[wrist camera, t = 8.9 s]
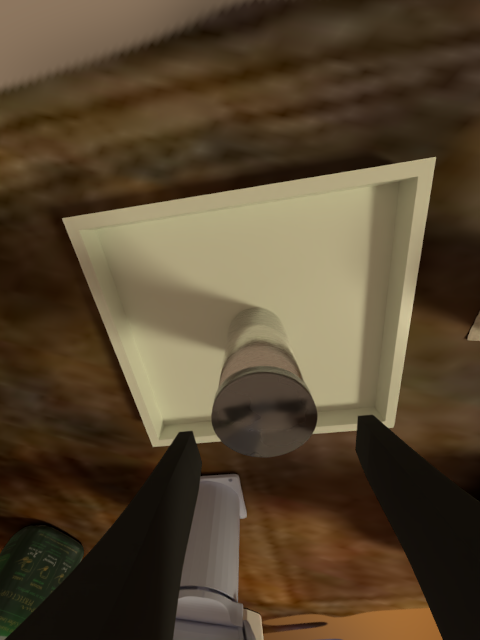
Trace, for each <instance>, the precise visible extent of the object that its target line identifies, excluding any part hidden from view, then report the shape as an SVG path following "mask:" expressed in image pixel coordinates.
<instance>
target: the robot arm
mask: <svg viewBox="0 0 480 640" xmlns="http://www.w3.org/2000/svg"><path fill="white" fill-rule="evenodd" d="M356 453H357V455H358V458H359V460H360V463H361V465H362V468H363V470H364V473H365V475H366V478H367V479H368V481H369V483H370V485H371V487H372V489H373V491H374V493H375V495H376V497H377V499H378V501H379V503H380V505H381V507H382V509H383V511H384V513H385V514H386V516H387V518H388V520H389V522H390V524H391V526H392V528H393V530H394V532H395V534H396V536H397V538H398V540H399V541H400V543H401V545H402V547H403V549H404V551H405V554H406V556H407V558H408V560H409V562H410V564H411V566H412V568H413V571H414V573H415V575H416V578H417V580H418V582H419V585H420V587H421V589H422V591H423V594H424V596H425V598H426V601H427V603H428V605H429V608H430V610H431V612H432V615H433V617H434V620H435V622H436V624H437V627H438V629H439V632H440V634H441V636H442V638H443V640H480V502H479V501H478V500H476V499H475V498H473V497H472V496H471V495H469V494H468V493H467V492H465V491H464V490H463V489H461V488H460V487H459V486H458V485H456V484H455V483H454V482H452V481H451V480H450V479H449V478H447V477H446V476H445V475H443V474H442V473H441V472H440V471H438V470H437V469H436V468H435V467H433V466H432V465H431V464H430V463H429V462H427V461H426V460H425V459H424V458H423V457H421V456H420V455H419V454H418V453H416V452H415V451H414V450H413V449H412V448H411V447H409V446H408V445H407V444H406V443H405V442H404V441H402V440H401V439H400V438H399V437H398V436H397V435H395V434H394V433H393V432H392V431H391V430H390V429H389V428H388V427H386V426H385V425H384V424H383V423H382V422H381V421H380V420H379V419H377V418H376V417H375V416H374V415H363V416H358V421H357V436H356ZM201 466H202V461H201V457H200V454H199V451H198V447H197V444H196V441H195V437H194V434H193V431H184V432H179V433H178V434H177V436H176V437H175V439H174V440H173V442H172V443H171V445H170V446H169V448H168V450H167V451H166V453H165V454H164V456H163V457H162V459H161V460H160V462H159V463H158V465H157V466H156V467H155V469H154V470H153V472H152V473H151V475H150V476H149V478H148V479H147V480H146V482H145V483H144V485H143V486H142V487H141V489H140V490H139V491H138V493H137V494H136V495H135V497H134V498H133V499H132V501H131V502H130V504H129V505H128V506H127V508H126V509H125V510H124V511H123V513H122V514H121V515H120V516H119V518H118V519H117V520H116V521H115V523H114V524H113V525H112V526H111V528H110V529H109V530H108V531H107V532H106V533H105V535H104V536H103V537H102V538H101V539H100V541H99V542H98V543H97V544H96V545H95V546H94V547H93V549H92V550H91V551H90V552H89V553H88V554H87V555H86V556H85V558H84V559H83V560H82V561H81V562H80V563H79V564H78V565H77V566H76V568H75V569H74V570H73V571H72V572H71V573H70V574H69V575H68V576H67V577H66V578H65V579H64V580H63V582H62V583H61V584H60V585H59V586H58V587H57V588H56V589H55V590H54V591H53V592H52V593H51V594H50V595H49V596H48V597H47V598H46V599H45V600H44V601H43V602H42V603H41V604H40V605H39V606H38V607H37V608H36V609H35V610H34V611H33V612H32V613H31V614H30V615H29V616H28V617H27V618H26V619H25V620H24V621H23V622H22V623H21V624H20V625H19V626H18V627H17V628H16V629H15V630H14V631H13V632H12V633H11V634H10V635H9V636H8V637H7V638H5V639H4V640H256V638H255V635H254V633H253V631H252V628H251V625H250V623H249V622H248V621H247V620H243V604H241V603H238V569H239V523H240V518H246V517H247V512H246V507H245V502H244V498H243V493H242V488H241V484H240V479H239V476H238V475H237V474H225V475H210V476H201Z"/></svg>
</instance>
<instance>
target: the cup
mask: <svg viewBox="0 0 480 640" xmlns="http://www.w3.org/2000/svg"><path fill="white" fill-rule="evenodd" d="M243 620H247V621H248V622H249V623H250V625H251V628H252V631H253V633H254V635H255V638H256V640H263V631H262V622H261V616H260V614H258V613H255V612H253V611H250V610H248V609H243Z"/></svg>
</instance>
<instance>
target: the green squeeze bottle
mask: <svg viewBox="0 0 480 640" xmlns="http://www.w3.org/2000/svg"><path fill="white" fill-rule="evenodd" d="M83 555H84V549H83V546H82V545H81V544H80V543H78V542H77V541H75V540H74V539H72V538H71V537H69V536H67V535H66V534H64V533H62V532H60V531H58V530H56V529H54V528H51V527H49V526H46V525H39V526H33V525H30V526H27V527H25V528H23V529H21V530H20V531H18V532H17V533H16V534H14V535H13V536H12V538H11V539H10V540H9V542H8V543H7V544H6V546H5V547H4V549H3V550H2V551H1V553H0V640H4V639H5V638H7V637H8V636H9V635H10V634H11V633H12V632H13V631H14V630H15V629H16V628H17V627H18V626H19V625H20V624H21V623H22V622H23V621H24V620H25V619H26V618H27V617H28V616H29V615H30V614H31V613H32V612H33V611H34V610H35V609H36V608H37V607H38V606H39V605H40V604H41V603H42V602H43V601H44V600H45V599H46V598H47V597H48V596H49V595H50V594H51V593H52V592H53V591H54V590H55V589H56V588H57V587H58V586H59V585H60V584H61V583H62V582H63V580H64V579H65V578H66V577H67V576H68V575H69V574H70V573H71V572H72V571H73V570H74V569H75V568H76V566H77V565H78V564H79V563H80V562H81V560H82V558H83Z"/></svg>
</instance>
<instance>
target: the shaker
mask: <svg viewBox="0 0 480 640" xmlns="http://www.w3.org/2000/svg"><path fill="white" fill-rule="evenodd" d="M317 417H318V415H317V409H316V405H315V403H314V400H313V398H312V395H311V392H310V390H309V388H308V387H307V385H306V384H305V383H304V380H303V377H302V375H301V372H300V369H299V367H298V364H297V361H296V359H295V356H294V354H293V351H292V348H291V346H290V343H289V340H288V338H287V335H286V332H285V330H284V327H283V324H282V322H281V320H280V319H279V318H278V316H277V315H275V314H274V313H273V312H271V311H269V310H267V309H264V308H249V309H246V310H243V311H241V312H240V313H238V314H237V315H236V316H235V317H234V318H233V319H232V321H231V323H230V325H229V328H228V334H227V340H226V346H225V352H224V357H223V363H222V369H221V375H220V381H219V386H218V390H217V392H216V395H215V397H214V403H213V408H212V414H211V421H212V426H213V429H214V431H215V433H216V435H217V436H218V438H219V439H220V440H221V441H222V442H223V443H224V444H225V445H226V446H228V447H229V448H231V449H232V450H234V451H236V452H238V453H241V454H244V455H248V456H253V457H274V456H279V455H283V454H286V453H289V452H291V451H293V450H295V449H297V448H299V447H300V446H301V445H303V444H304V443H305V442H306V441H307V440H308V439H309V438H310V437H311V435H312V434H313V432H314V430H315V427H316V424H317Z"/></svg>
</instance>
